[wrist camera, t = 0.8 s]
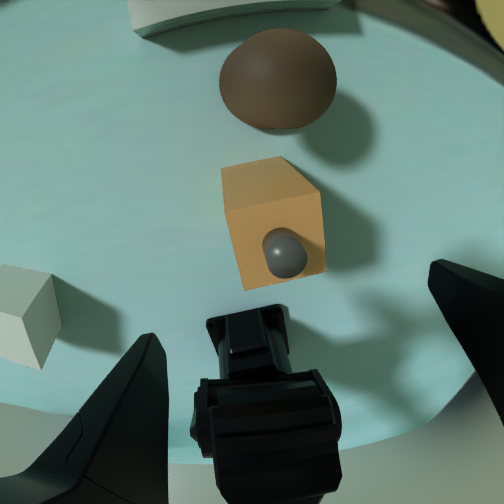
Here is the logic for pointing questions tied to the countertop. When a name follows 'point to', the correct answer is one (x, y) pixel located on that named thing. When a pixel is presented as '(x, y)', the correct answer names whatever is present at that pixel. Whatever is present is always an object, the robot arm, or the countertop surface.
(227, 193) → the tan upright block
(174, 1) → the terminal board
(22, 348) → the white cube
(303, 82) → the bobbin
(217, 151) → the countertop surface
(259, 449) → the robot arm
